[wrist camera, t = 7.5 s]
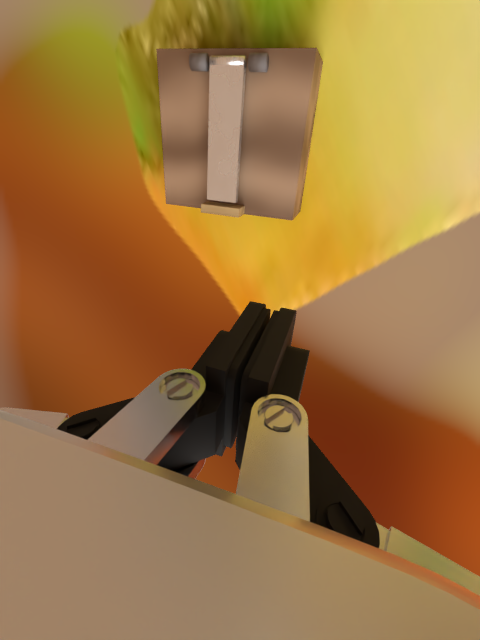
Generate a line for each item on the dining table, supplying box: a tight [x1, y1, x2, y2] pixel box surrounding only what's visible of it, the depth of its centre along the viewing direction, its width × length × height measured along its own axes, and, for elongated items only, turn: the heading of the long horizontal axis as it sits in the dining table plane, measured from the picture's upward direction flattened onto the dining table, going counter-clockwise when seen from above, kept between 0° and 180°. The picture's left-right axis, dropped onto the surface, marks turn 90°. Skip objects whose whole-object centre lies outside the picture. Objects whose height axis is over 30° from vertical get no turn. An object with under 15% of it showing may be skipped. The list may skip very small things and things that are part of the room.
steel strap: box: [207, 56, 247, 203], centre depth 28 cm, size 11×3×1 cm, turn 177°
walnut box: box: [157, 48, 323, 220], centre depth 30 cm, size 13×14×7 cm
